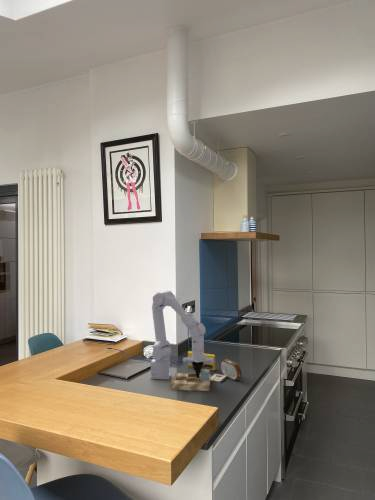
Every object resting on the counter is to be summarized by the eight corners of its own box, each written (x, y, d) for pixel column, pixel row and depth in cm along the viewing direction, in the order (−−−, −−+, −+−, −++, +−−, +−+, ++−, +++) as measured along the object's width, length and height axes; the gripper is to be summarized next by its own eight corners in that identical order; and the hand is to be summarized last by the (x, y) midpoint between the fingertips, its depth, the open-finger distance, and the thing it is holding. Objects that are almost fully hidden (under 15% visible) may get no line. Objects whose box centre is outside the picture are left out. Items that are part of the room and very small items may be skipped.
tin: (242, 381, 185) (242, 364, 185) (237, 382, 184) (236, 365, 184) (224, 372, 198) (224, 357, 198) (219, 373, 197) (219, 358, 197)
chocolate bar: (234, 371, 200) (222, 381, 184) (234, 372, 200) (222, 383, 184) (219, 368, 204) (205, 378, 188) (219, 370, 204) (205, 380, 188)
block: (200, 380, 179) (200, 372, 179) (201, 377, 183) (201, 369, 183) (209, 380, 178) (209, 372, 178) (209, 377, 182) (209, 369, 182)
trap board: (170, 389, 175) (170, 380, 175) (175, 379, 189) (175, 370, 189) (209, 390, 173) (209, 381, 173) (210, 380, 187) (210, 371, 187)
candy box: (187, 366, 209) (187, 351, 209) (189, 365, 211) (189, 351, 211) (213, 370, 202) (213, 355, 202) (215, 369, 204) (215, 354, 204)
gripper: (182, 351, 177) (182, 379, 177) (212, 352, 176) (212, 380, 176) (183, 347, 184) (183, 374, 185) (213, 348, 183) (213, 375, 183)
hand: (198, 377), depth 181 cm, fingers closed
